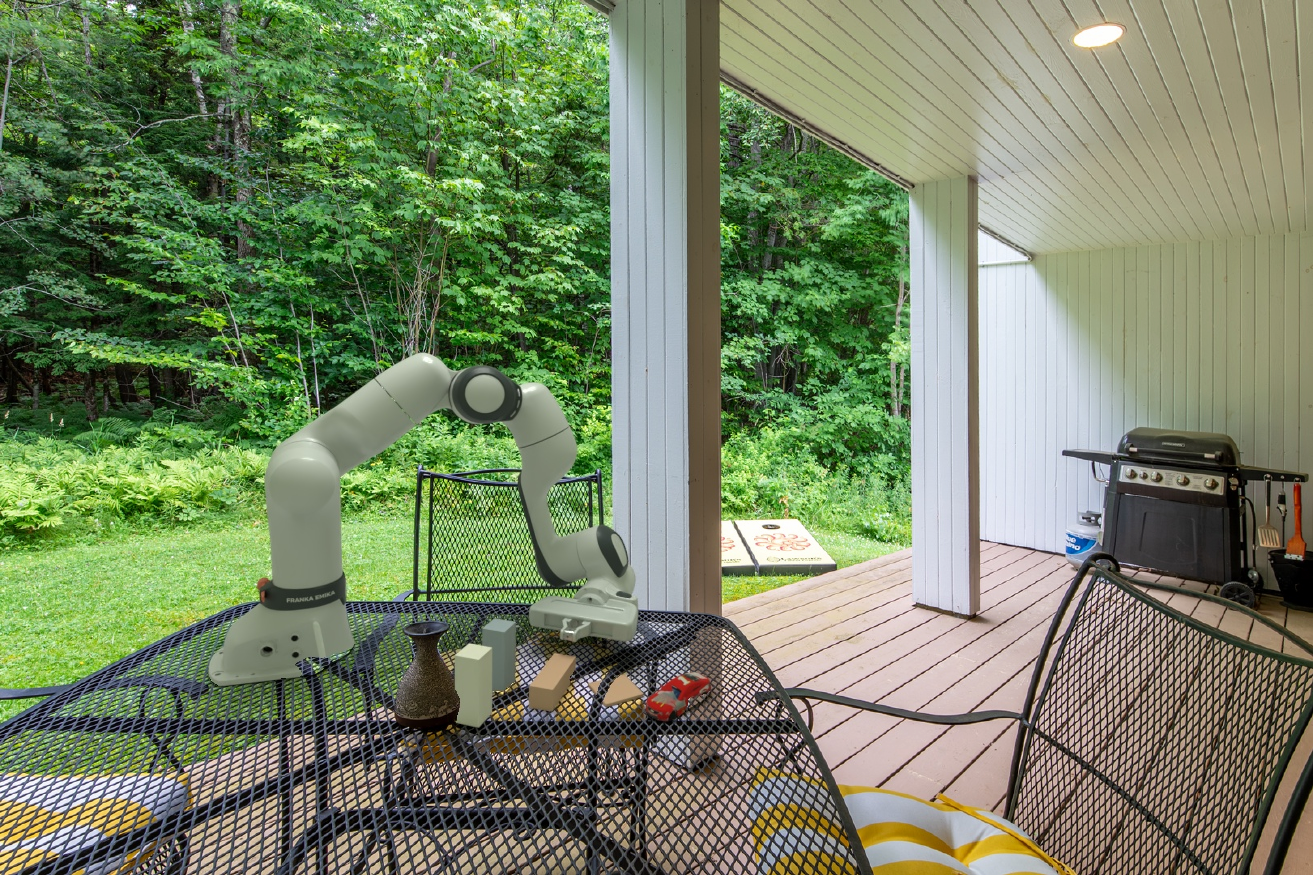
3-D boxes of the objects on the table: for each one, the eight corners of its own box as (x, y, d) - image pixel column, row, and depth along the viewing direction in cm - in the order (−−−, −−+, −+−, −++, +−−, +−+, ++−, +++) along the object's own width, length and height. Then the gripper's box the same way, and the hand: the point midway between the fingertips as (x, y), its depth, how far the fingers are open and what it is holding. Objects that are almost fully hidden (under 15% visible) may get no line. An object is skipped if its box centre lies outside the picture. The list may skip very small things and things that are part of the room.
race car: (662, 729, 98) (663, 705, 97) (638, 713, 102) (639, 691, 101) (716, 696, 107) (717, 675, 107) (692, 683, 111) (693, 662, 110)
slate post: (503, 694, 105) (504, 632, 103) (482, 690, 106) (482, 628, 104) (515, 682, 109) (515, 622, 107) (494, 678, 110) (494, 618, 108)
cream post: (478, 727, 96) (478, 659, 94) (455, 722, 97) (454, 655, 95) (491, 712, 100) (492, 647, 98) (469, 708, 101) (469, 643, 99)
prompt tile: (605, 707, 103) (605, 704, 102) (587, 686, 108) (588, 683, 108) (643, 696, 106) (643, 693, 106) (624, 676, 112) (624, 674, 112)
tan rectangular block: (575, 677, 111) (552, 713, 101) (553, 674, 112) (528, 709, 102) (576, 656, 111) (552, 689, 100) (554, 653, 112) (529, 685, 101)
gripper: (546, 582, 126) (513, 610, 113) (645, 597, 121) (623, 628, 108) (546, 612, 127) (513, 644, 114) (644, 628, 122) (621, 663, 109)
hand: (567, 636), depth 111 cm, fingers closed
